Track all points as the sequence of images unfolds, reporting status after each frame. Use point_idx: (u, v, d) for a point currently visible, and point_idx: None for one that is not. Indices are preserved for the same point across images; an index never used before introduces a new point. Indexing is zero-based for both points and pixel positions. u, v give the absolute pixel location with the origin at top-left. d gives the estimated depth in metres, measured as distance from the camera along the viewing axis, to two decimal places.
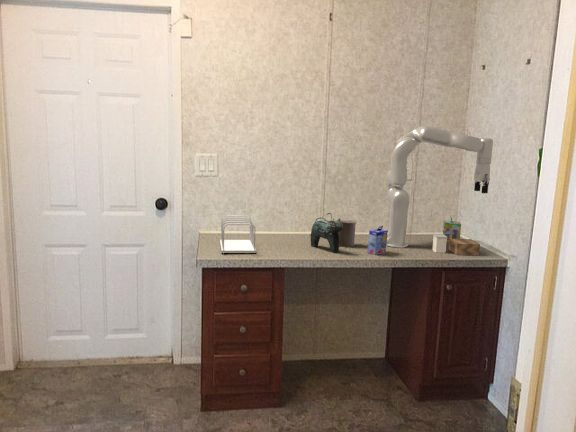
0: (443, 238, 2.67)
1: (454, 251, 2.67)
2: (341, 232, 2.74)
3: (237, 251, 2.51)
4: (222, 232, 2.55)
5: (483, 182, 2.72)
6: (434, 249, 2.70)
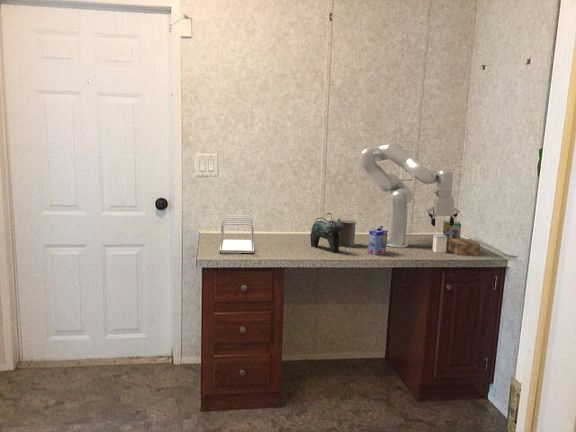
0: (443, 238, 2.67)
1: (454, 251, 2.67)
2: (341, 232, 2.74)
3: (235, 251, 2.52)
4: None
5: (453, 215, 2.66)
6: (434, 249, 2.70)
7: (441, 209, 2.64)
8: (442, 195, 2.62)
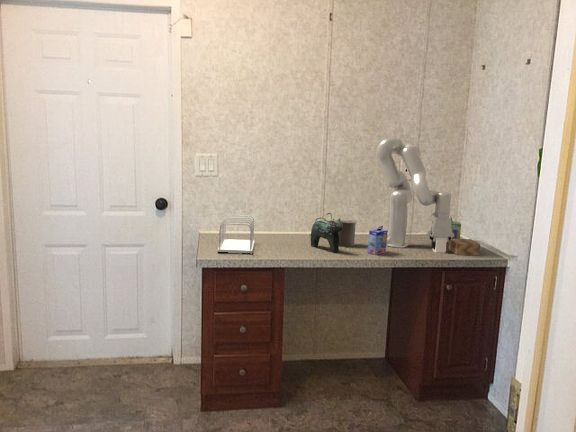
0: (443, 238, 2.67)
1: (454, 251, 2.67)
2: (341, 232, 2.74)
3: (233, 251, 2.52)
4: None
5: (448, 238, 2.69)
6: (434, 249, 2.70)
7: (438, 230, 2.66)
8: (440, 217, 2.64)
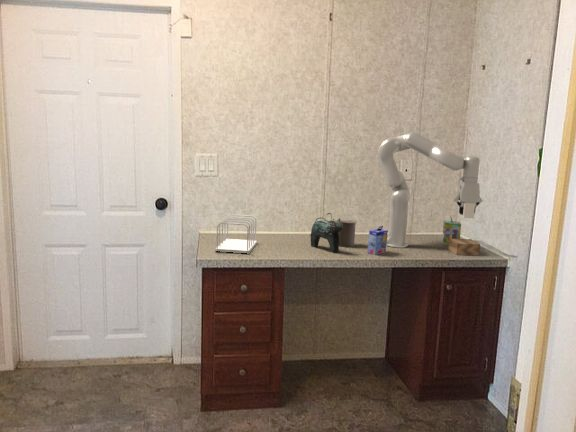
0: (471, 203, 2.63)
1: (454, 251, 2.67)
2: (341, 232, 2.74)
3: (230, 250, 2.53)
4: (219, 231, 2.58)
5: (476, 203, 2.65)
6: (462, 215, 2.66)
7: (467, 195, 2.62)
8: (468, 181, 2.61)
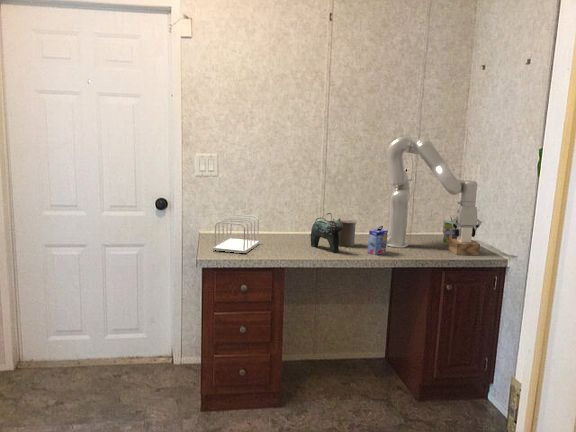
0: (469, 228, 2.66)
1: (454, 251, 2.67)
2: (341, 232, 2.74)
3: (227, 250, 2.54)
4: (218, 230, 2.60)
5: (475, 226, 2.67)
6: (459, 239, 2.69)
7: (464, 219, 2.65)
8: (466, 205, 2.63)
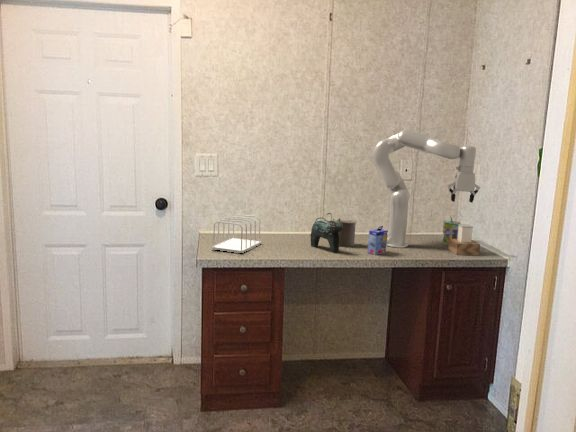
0: (469, 228, 2.66)
1: (454, 251, 2.67)
2: (341, 232, 2.74)
3: (225, 249, 2.54)
4: (218, 229, 2.61)
5: (473, 191, 2.66)
6: (459, 239, 2.69)
7: (462, 185, 2.63)
8: (464, 170, 2.62)
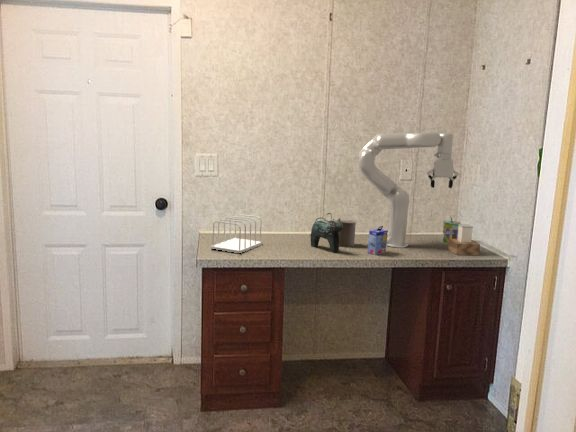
0: (469, 228, 2.66)
1: (454, 251, 2.67)
2: (341, 232, 2.74)
3: (223, 249, 2.55)
4: (218, 229, 2.62)
5: (452, 177, 2.73)
6: (459, 239, 2.69)
7: (441, 171, 2.71)
8: (442, 157, 2.69)
